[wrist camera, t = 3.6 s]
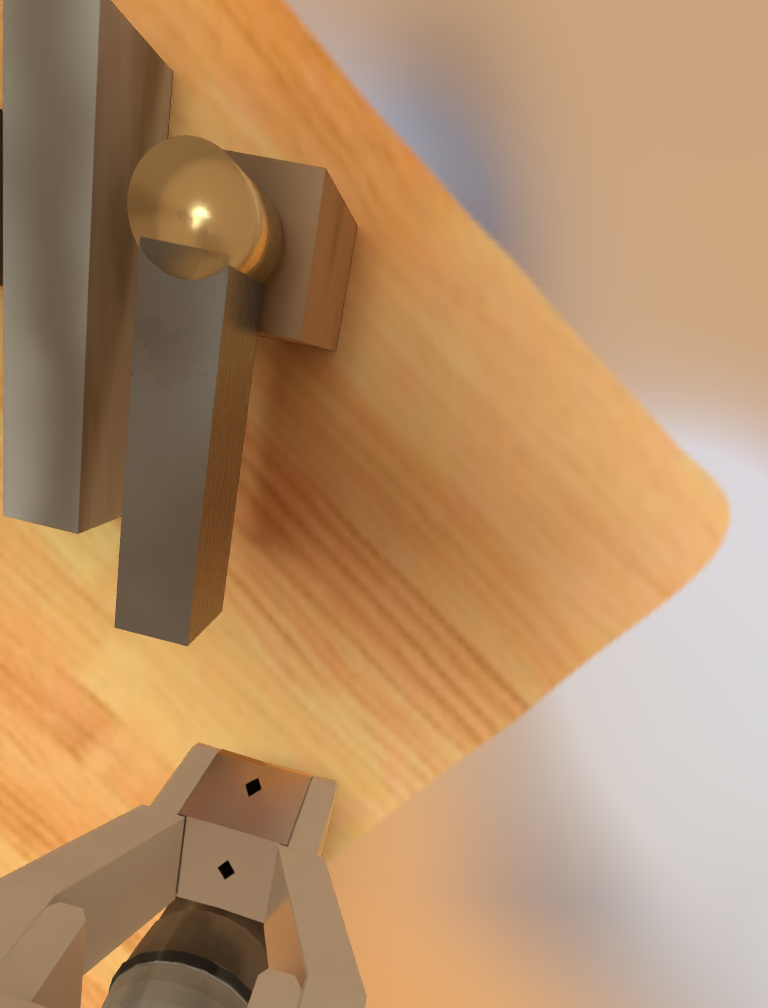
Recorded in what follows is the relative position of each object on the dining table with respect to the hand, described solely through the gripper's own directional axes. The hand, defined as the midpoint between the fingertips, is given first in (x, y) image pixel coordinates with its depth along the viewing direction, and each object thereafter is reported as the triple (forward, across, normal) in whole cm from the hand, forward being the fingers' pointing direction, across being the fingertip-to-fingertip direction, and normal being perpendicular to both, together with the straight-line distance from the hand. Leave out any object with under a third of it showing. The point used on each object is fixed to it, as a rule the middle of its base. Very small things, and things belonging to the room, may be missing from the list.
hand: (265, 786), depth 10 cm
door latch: (+18, +14, -9) cm, 24 cm away
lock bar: (+11, +7, -5) cm, 14 cm away
